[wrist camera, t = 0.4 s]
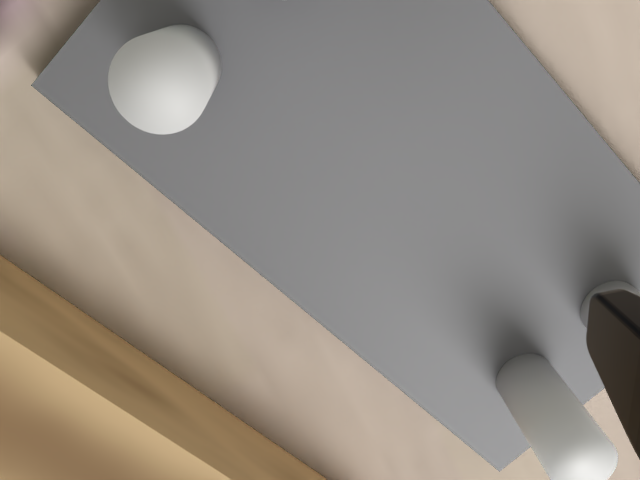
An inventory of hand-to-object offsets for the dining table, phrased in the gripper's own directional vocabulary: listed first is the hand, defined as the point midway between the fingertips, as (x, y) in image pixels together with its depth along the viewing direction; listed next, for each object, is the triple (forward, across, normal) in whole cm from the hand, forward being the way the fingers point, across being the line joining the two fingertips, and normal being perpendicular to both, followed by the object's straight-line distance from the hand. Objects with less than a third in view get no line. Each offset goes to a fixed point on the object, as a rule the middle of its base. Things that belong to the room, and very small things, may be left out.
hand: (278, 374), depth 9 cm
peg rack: (+14, -5, +5) cm, 15 cm away
